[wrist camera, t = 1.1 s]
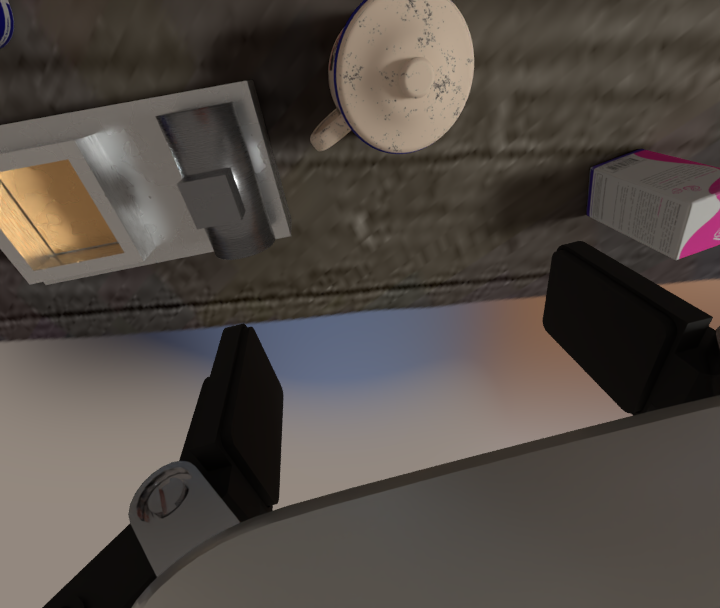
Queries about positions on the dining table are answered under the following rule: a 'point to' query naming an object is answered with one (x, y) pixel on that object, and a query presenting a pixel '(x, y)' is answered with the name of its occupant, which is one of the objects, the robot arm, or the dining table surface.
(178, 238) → the white desk organizer
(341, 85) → the teacup with lid
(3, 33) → the energy drink
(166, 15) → the dining table surface
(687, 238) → the supplement box
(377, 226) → the dining table surface
